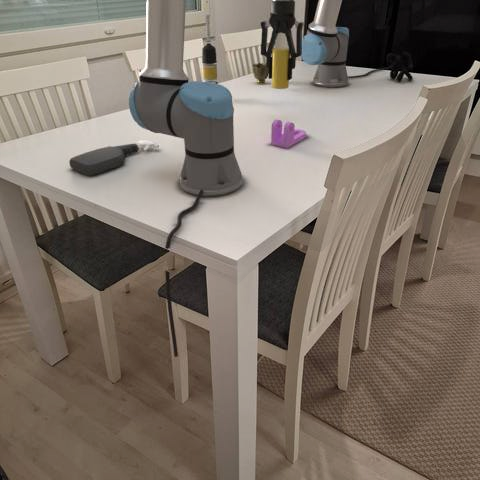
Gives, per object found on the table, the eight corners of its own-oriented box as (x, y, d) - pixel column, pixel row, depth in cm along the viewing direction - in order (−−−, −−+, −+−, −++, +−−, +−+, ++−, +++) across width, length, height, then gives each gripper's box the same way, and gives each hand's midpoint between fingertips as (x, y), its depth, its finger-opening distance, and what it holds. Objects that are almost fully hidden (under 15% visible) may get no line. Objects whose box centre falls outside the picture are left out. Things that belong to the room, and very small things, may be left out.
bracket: (287, 148, 130) (288, 124, 126) (271, 144, 133) (271, 121, 129) (309, 135, 139) (310, 113, 135) (293, 132, 142) (294, 110, 138)
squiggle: (400, 92, 202) (376, 71, 205) (417, 76, 202) (392, 56, 205) (405, 81, 191) (380, 59, 194) (423, 64, 191) (397, 42, 194)
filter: (220, 99, 177) (217, 15, 161) (206, 100, 176) (202, 16, 160) (215, 96, 182) (212, 14, 166) (202, 97, 180) (197, 14, 164)
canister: (283, 84, 153) (285, 46, 147) (291, 87, 148) (293, 49, 142) (268, 86, 151) (269, 48, 145) (276, 89, 146) (277, 50, 140)
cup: (250, 84, 198) (249, 65, 194) (257, 80, 204) (257, 62, 200) (265, 85, 195) (265, 66, 191) (272, 82, 201) (272, 63, 197)
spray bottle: (67, 168, 120) (139, 144, 136) (91, 178, 114) (163, 151, 130) (65, 157, 118) (137, 134, 134) (89, 167, 112) (162, 142, 128)
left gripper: (315, -1, 136) (310, 78, 148) (257, -2, 142) (257, 74, 154) (310, 0, 130) (305, 82, 142) (249, 0, 136) (249, 79, 148)
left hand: (280, 78), depth 148 cm, fingers closed on canister, 6 cm apart
